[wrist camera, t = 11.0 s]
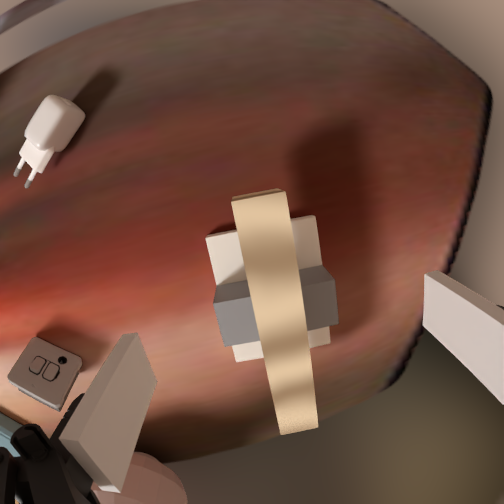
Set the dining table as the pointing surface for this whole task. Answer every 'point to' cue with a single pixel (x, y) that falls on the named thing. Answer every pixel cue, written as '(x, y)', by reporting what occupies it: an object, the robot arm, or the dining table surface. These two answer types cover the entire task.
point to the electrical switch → (45, 373)
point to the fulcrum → (239, 299)
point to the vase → (145, 484)
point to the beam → (277, 304)
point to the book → (8, 433)
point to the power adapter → (49, 133)
